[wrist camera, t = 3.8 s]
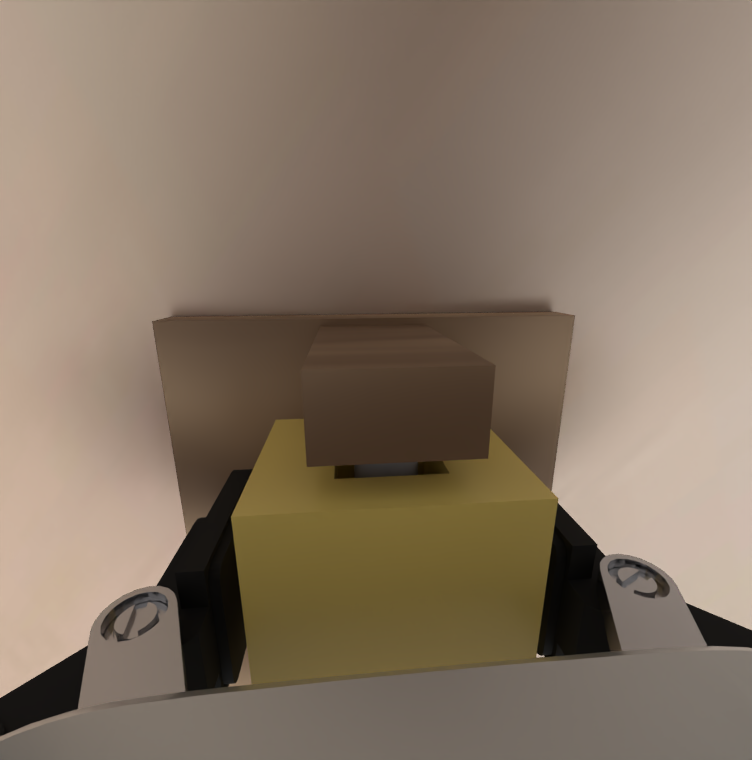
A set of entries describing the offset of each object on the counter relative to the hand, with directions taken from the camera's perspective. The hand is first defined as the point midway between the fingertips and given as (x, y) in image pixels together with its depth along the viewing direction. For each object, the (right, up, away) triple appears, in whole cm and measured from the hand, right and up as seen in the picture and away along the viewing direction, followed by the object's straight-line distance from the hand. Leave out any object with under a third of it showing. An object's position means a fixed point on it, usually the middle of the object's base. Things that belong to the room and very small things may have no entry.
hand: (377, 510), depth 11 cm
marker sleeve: (0, 0, 0) cm, 0 cm away
